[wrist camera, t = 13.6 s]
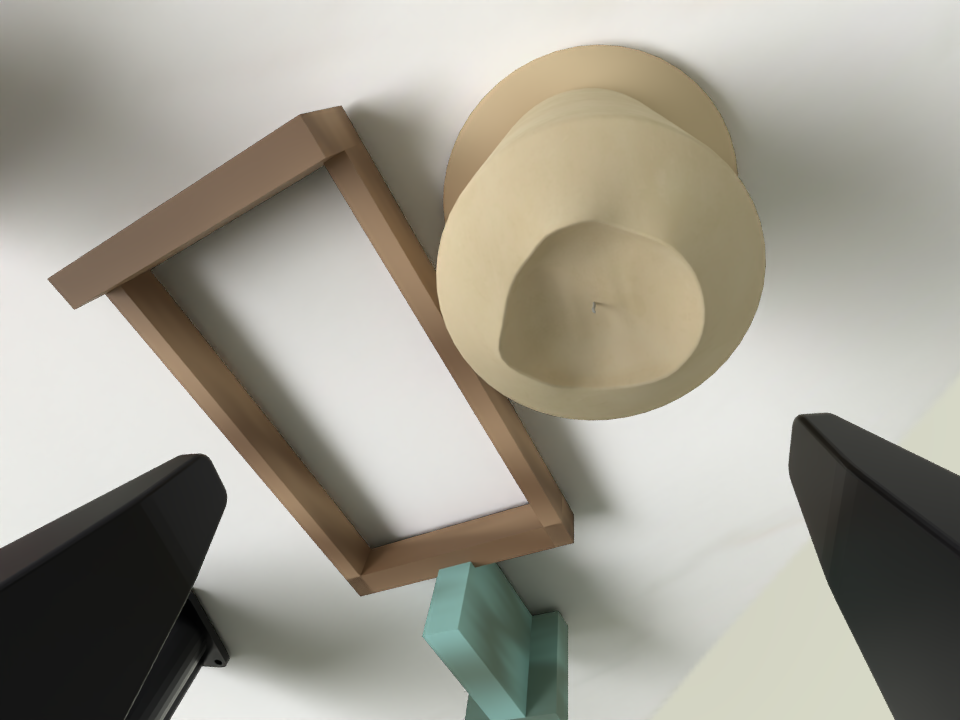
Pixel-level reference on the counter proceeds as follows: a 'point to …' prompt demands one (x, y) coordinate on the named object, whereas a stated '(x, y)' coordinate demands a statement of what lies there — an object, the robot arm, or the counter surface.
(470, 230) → the candle
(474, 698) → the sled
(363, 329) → the counter surface
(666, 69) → the coaster
